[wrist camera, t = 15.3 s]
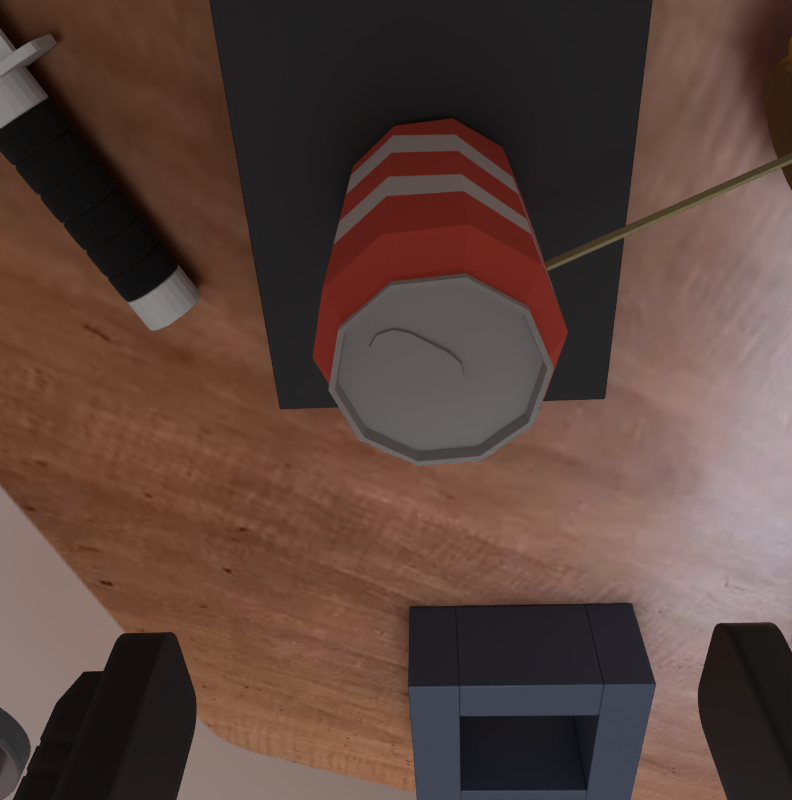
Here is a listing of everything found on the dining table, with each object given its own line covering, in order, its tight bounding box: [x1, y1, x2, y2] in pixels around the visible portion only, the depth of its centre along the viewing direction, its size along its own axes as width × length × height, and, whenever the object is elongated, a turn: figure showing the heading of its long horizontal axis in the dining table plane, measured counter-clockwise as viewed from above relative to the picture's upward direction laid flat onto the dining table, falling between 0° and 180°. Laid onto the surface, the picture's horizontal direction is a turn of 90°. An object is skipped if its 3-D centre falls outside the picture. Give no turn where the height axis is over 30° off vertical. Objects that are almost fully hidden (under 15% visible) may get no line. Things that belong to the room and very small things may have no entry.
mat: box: [209, 0, 652, 409], centre depth 28 cm, size 14×18×1 cm
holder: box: [408, 604, 656, 800], centre depth 42 cm, size 12×12×5 cm
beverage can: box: [313, 118, 568, 466], centre depth 22 cm, size 6×6×12 cm
